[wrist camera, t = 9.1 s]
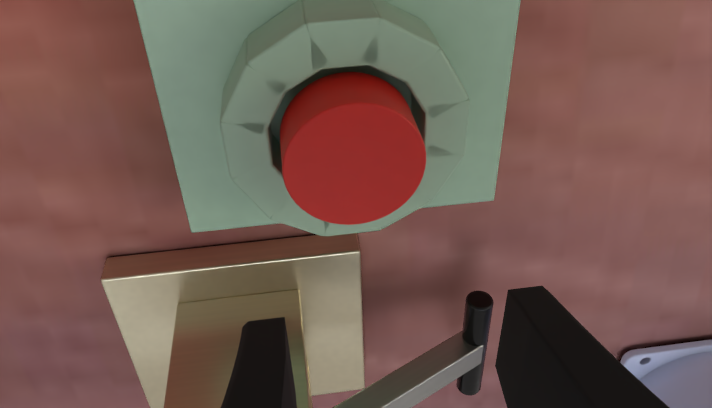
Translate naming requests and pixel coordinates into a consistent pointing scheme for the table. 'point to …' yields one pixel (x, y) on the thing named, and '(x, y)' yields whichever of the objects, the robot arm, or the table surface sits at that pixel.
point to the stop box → (307, 64)
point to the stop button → (350, 149)
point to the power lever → (436, 364)
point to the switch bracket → (239, 314)
